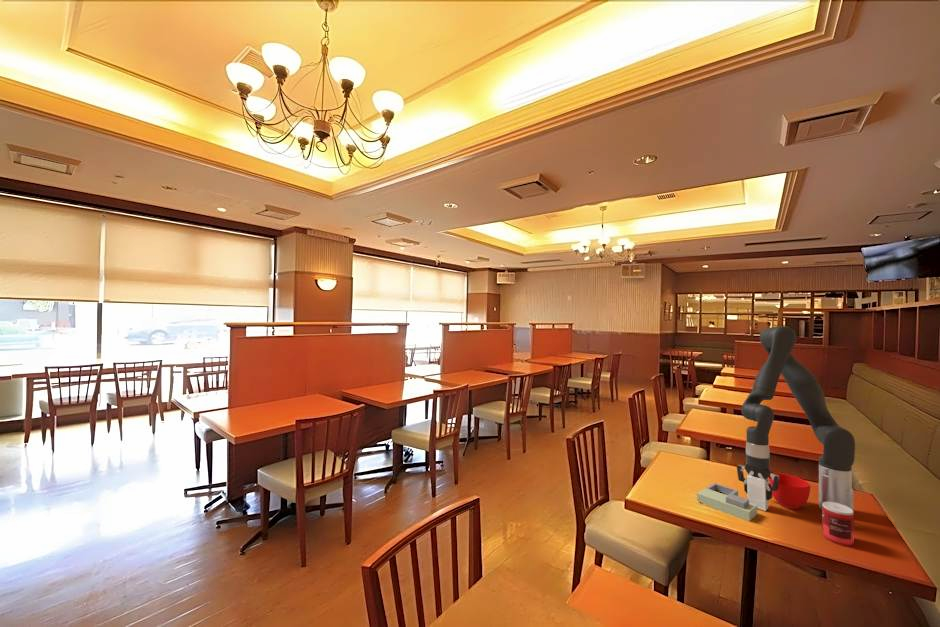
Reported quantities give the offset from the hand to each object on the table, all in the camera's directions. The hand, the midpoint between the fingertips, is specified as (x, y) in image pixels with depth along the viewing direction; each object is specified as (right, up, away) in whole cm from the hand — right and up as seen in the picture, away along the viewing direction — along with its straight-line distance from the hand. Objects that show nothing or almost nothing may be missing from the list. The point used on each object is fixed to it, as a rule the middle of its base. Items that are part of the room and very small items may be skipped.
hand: (757, 496), depth 151 cm
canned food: (+11, -5, -22) cm, 25 cm away
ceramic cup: (+12, -4, +3) cm, 13 cm away
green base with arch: (-9, -4, +2) cm, 11 cm away
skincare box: (0, -4, 0) cm, 4 cm away
